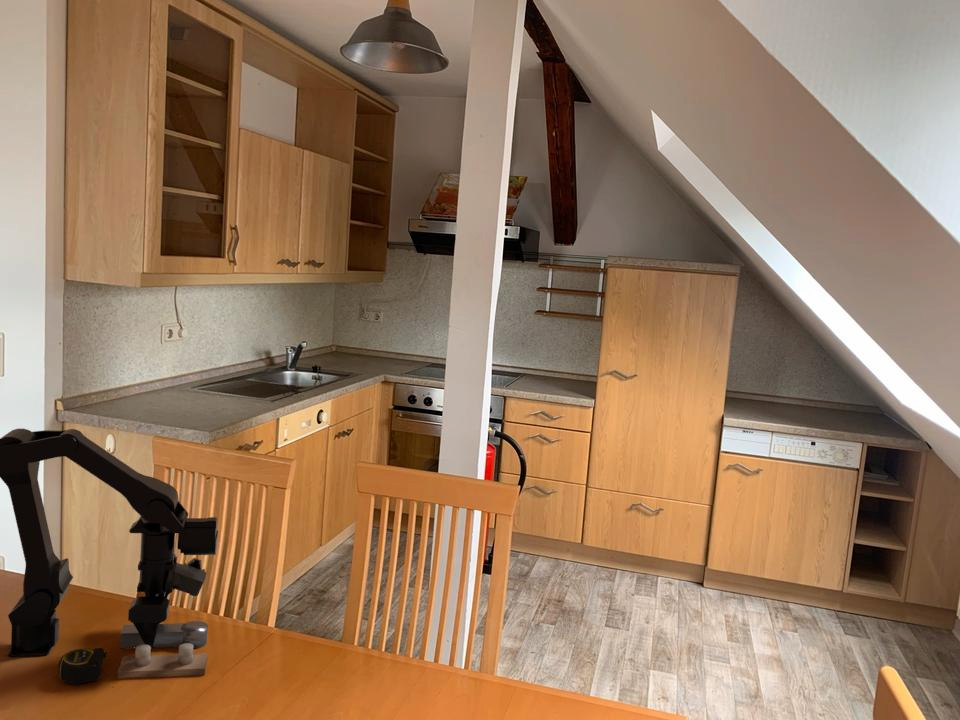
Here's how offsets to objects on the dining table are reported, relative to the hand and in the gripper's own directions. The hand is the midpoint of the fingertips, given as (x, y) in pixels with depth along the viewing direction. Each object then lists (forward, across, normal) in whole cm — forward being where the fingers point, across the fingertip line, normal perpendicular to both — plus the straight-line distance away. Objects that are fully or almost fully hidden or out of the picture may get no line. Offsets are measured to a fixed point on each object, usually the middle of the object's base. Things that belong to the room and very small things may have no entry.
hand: (153, 634), depth 142 cm
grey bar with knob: (+2, 0, -2) cm, 3 cm away
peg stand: (+2, -9, -3) cm, 10 cm away
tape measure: (+2, -10, +9) cm, 14 cm away
